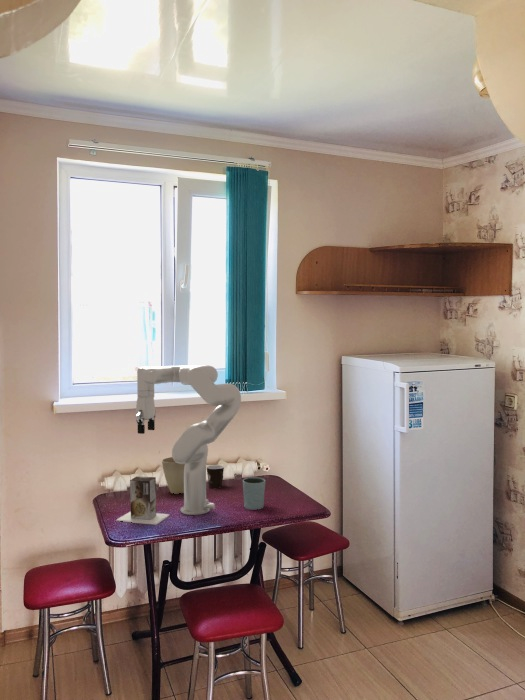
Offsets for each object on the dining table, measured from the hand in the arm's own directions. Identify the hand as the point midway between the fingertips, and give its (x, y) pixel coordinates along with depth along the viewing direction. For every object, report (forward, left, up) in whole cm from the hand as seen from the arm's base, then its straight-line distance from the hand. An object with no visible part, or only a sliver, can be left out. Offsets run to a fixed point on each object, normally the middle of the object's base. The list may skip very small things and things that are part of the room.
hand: (146, 431), depth 261 cm
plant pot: (-6, -20, -33) cm, 39 cm away
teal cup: (-49, -6, -33) cm, 59 cm away
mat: (-9, +21, -32) cm, 40 cm away
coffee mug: (-21, -32, -33) cm, 50 cm away
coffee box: (-9, +21, -32) cm, 39 cm away
